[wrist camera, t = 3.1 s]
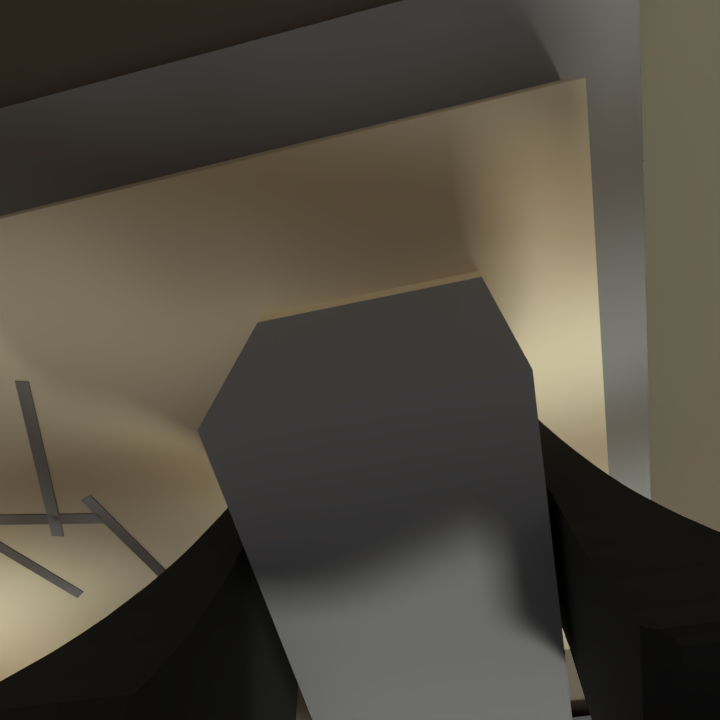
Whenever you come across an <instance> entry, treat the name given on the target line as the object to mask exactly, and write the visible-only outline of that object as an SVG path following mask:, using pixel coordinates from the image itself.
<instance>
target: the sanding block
mask: <svg viewBox="0 0 720 720" xmlns="http://www.w3.org/2000/svg"><path fill="white" fill-rule="evenodd" d="M197 431H198V433H199V436H200V438H201V441H202V443H203V446H204V449H205V451H206V454H207V456H208V459H209V461H210V464H211V466H212V469H213V471H214V474H215V476H216V479H217V481H218V484H219V486H220V489H221V491H222V494H223V496H224V499H225V501H226V504H227V506H228V509H229V511H230V514H231V516H232V519H233V521H234V524H235V526H236V529H237V531H238V534H239V537H240V539H241V542H242V544H243V547H244V549H245V552H246V554H247V557H248V559H249V562H250V564H251V567H252V569H253V572H254V574H255V577H256V579H257V582H258V584H259V587H260V589H261V592H262V594H263V597H264V599H265V602H266V604H267V607H268V609H269V612H270V614H271V617H272V619H273V622H274V625H275V627H276V630H277V632H278V635H279V637H280V640H281V642H282V645H283V647H284V650H285V652H286V655H287V657H288V660H289V662H290V665H291V667H292V670H293V672H294V675H295V677H296V680H297V682H298V685H299V687H300V690H301V692H302V695H303V697H304V700H305V702H306V705H307V707H308V710H309V712H310V715H311V718H312V720H572V711H571V703H570V694H569V685H568V676H567V667H566V659H565V650H564V641H563V632H562V623H561V615H560V606H559V597H558V588H557V579H556V571H555V562H554V553H553V544H552V536H551V527H550V518H549V509H548V500H547V492H546V483H545V474H544V465H543V456H542V448H541V439H540V430H539V421H538V412H537V404H536V395H535V386H534V377H533V369H532V368H531V366H530V364H529V362H528V360H527V358H526V357H525V355H524V353H523V351H522V349H521V347H520V346H519V344H518V342H517V340H516V338H515V336H514V335H513V333H512V331H511V329H510V327H509V326H508V324H507V322H506V320H505V318H504V316H503V315H502V313H501V311H500V309H499V307H498V305H497V304H496V302H495V300H494V298H493V296H492V294H491V293H490V291H489V289H488V287H487V285H486V284H485V282H484V280H483V278H482V276H481V274H480V273H479V271H476V272H471V273H466V274H461V275H456V276H452V277H447V278H442V279H437V280H432V281H427V282H422V283H417V284H413V285H408V286H403V287H398V288H393V289H388V290H383V291H378V292H374V293H369V294H364V295H359V296H354V297H349V298H344V299H339V300H335V301H330V302H325V303H320V304H315V305H310V306H305V307H300V308H296V309H291V310H286V311H281V312H276V313H271V314H266V315H261V317H260V319H259V320H258V322H257V324H256V326H255V328H254V329H253V331H252V333H251V335H250V337H249V338H248V340H247V342H246V344H245V346H244V347H243V349H242V351H241V353H240V355H239V356H238V358H237V360H236V362H235V364H234V365H233V367H232V369H231V371H230V373H229V374H228V376H227V378H226V380H225V382H224V383H223V385H222V387H221V389H220V391H219V392H218V394H217V396H216V398H215V400H214V401H213V403H212V405H211V407H210V409H209V410H208V412H207V414H206V416H205V418H204V419H203V421H202V423H201V425H200V427H199V428H198V430H197Z"/></svg>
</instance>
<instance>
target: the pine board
mask: <svg viewBox="0 0 720 720" xmlns="http://www.w3.org/2000/svg"><path fill="white" fill-rule="evenodd" d="M476 271H479V273H480V274H481V276H482V278H483V280H484V282H485V284H486V285H487V287H488V289H489V291H490V293H491V294H492V296H493V298H494V300H495V302H496V304H497V305H498V307H499V309H500V311H501V313H502V315H503V316H504V318H505V320H506V322H507V324H508V326H509V327H510V329H511V331H512V333H513V335H514V336H515V338H516V340H517V342H518V344H519V346H520V347H521V349H522V351H523V353H524V355H525V357H526V358H527V360H528V362H529V364H530V366H531V368H532V369H533V377H534V386H535V395H536V404H537V412H538V419H539V420H540V421H541V422H542V423H543V424H544V425H545V426H547V427H548V428H549V429H550V430H551V431H552V432H553V433H555V434H556V435H557V436H558V437H559V438H561V439H562V440H563V441H564V442H565V443H567V444H568V445H569V446H570V447H572V448H573V449H574V450H575V451H577V452H578V453H579V454H581V455H582V456H583V457H585V458H586V459H587V460H589V461H590V462H591V463H593V464H594V465H595V466H597V467H598V468H600V469H601V470H602V471H604V472H605V473H607V474H608V475H610V476H611V477H613V478H614V479H616V480H617V481H619V482H620V483H622V484H623V485H625V486H627V487H628V488H630V489H632V490H633V491H635V492H637V493H639V494H641V495H642V496H644V497H646V498H648V499H650V500H651V493H650V450H649V406H648V362H647V318H646V274H645V230H644V186H643V143H642V99H641V55H640V11H639V0H402V1H398V2H394V3H391V4H387V5H383V6H379V7H376V8H372V9H368V10H365V11H361V12H357V13H353V14H350V15H346V16H342V17H339V18H335V19H331V20H327V21H324V22H320V23H316V24H312V25H309V26H305V27H301V28H298V29H294V30H290V31H286V32H283V33H279V34H275V35H271V36H268V37H264V38H260V39H257V40H253V41H249V42H245V43H242V44H238V45H234V46H230V47H227V48H223V49H219V50H216V51H212V52H208V53H204V54H201V55H197V56H193V57H189V58H186V59H182V60H178V61H175V62H171V63H167V64H163V65H160V66H156V67H152V68H148V69H145V70H141V71H137V72H134V73H130V74H126V75H122V76H119V77H115V78H111V79H107V80H104V81H100V82H96V83H93V84H89V85H85V86H81V87H78V88H74V89H70V90H66V91H63V92H59V93H55V94H52V95H48V96H44V97H40V98H37V99H33V100H29V101H26V102H22V103H18V104H14V105H11V106H7V107H3V108H0V681H2V680H4V679H5V678H7V677H9V676H11V675H12V674H14V673H16V672H18V671H20V670H21V669H23V668H25V667H27V666H28V665H30V664H32V663H34V662H36V661H37V660H39V659H41V658H43V657H44V656H46V655H48V654H49V653H51V652H53V651H54V650H56V649H58V648H59V647H61V646H63V645H64V644H66V643H67V642H69V641H70V640H72V639H73V638H75V637H77V636H78V635H80V634H81V633H83V632H84V631H86V630H87V629H89V628H90V627H92V626H93V625H95V624H96V623H98V622H99V621H101V620H102V619H104V618H105V617H106V616H108V615H109V614H111V613H112V612H113V611H114V610H116V609H117V608H118V607H120V606H121V605H122V604H124V603H125V602H126V601H128V600H129V599H130V598H132V597H133V596H134V595H135V594H137V593H138V592H139V591H141V590H142V589H143V588H145V587H146V586H147V585H148V584H150V583H151V582H152V581H153V580H155V579H156V578H157V577H158V576H159V575H160V574H161V573H163V572H164V571H165V570H166V569H167V568H168V567H169V566H171V565H172V564H173V563H174V562H175V561H176V560H177V559H178V558H179V557H180V556H182V555H183V554H184V553H185V552H186V551H187V550H188V549H189V548H190V547H191V546H192V545H193V544H194V543H195V542H196V541H197V540H198V539H199V538H200V537H201V536H202V534H203V533H204V532H205V531H206V530H207V529H208V528H209V527H210V526H211V525H212V524H213V523H214V522H215V521H216V520H217V519H218V518H219V517H220V516H221V515H222V513H223V512H224V511H225V510H226V509H227V508H228V506H227V504H226V501H225V499H224V496H223V494H222V491H221V489H220V486H219V484H218V481H217V479H216V476H215V474H214V471H213V469H212V466H211V464H210V461H209V459H208V456H207V454H206V451H205V449H204V446H203V443H202V441H201V438H200V436H199V433H198V431H197V430H198V428H199V427H200V425H201V423H202V421H203V419H204V418H205V416H206V414H207V412H208V410H209V409H210V407H211V405H212V403H213V401H214V400H215V398H216V396H217V394H218V392H219V391H220V389H221V387H222V385H223V383H224V382H225V380H226V378H227V376H228V374H229V373H230V371H231V369H232V367H233V365H234V364H235V362H236V360H237V358H238V356H239V355H240V353H241V351H242V349H243V347H244V346H245V344H246V342H247V340H248V338H249V337H250V335H251V333H252V331H253V329H254V328H255V326H256V324H257V322H258V320H259V319H260V317H261V315H266V314H271V313H276V312H281V311H286V310H291V309H296V308H300V307H305V306H310V305H315V304H320V303H325V302H330V301H335V300H339V299H344V298H349V297H354V296H359V295H364V294H369V293H374V292H378V291H383V290H388V289H393V288H398V287H403V286H408V285H413V284H417V283H422V282H427V281H432V280H437V279H442V278H447V277H452V276H456V275H461V274H466V273H471V272H476ZM562 632H563V641H564V650H570V648H569V645H568V642H567V639H566V637H565V634H564V631H563V628H562Z"/></svg>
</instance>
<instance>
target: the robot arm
mask: <svg viewBox="0 0 720 720" xmlns="http://www.w3.org/2000/svg"><path fill="white" fill-rule="evenodd" d="M538 421H539V430H540V439H541V448H542V456H543V465H544V474H545V483H546V492H547V500H548V509H549V518H550V527H551V536H552V544H553V553H554V562H555V571H556V579H557V588H558V597H559V606H560V615H561V623H562V628H563V631H564V634H565V637H566V639H567V642H568V645H569V648H570V650H571V653H572V657H573V660H574V663H575V666H576V670H577V673H578V676H579V680H580V683H581V686H582V689H583V693H584V696H585V699H586V702H587V706H588V709H589V713H590V715H588V716H579V717H572V720H720V532H718V531H715V530H713V529H711V528H709V527H706V526H704V525H702V524H699V523H697V522H695V521H693V520H690V519H688V518H686V517H683V516H681V515H679V514H677V513H675V512H673V511H671V510H669V509H667V508H665V507H663V506H661V505H659V504H657V503H655V502H654V501H652V500H650V499H648V498H646V497H644V496H642V495H641V494H639V493H637V492H635V491H633V490H632V489H630V488H628V487H627V486H625V485H623V484H622V483H620V482H619V481H617V480H616V479H614V478H613V477H611V476H610V475H608V474H607V473H605V472H604V471H602V470H601V469H600V468H598V467H597V466H595V465H594V464H593V463H591V462H590V461H589V460H587V459H586V458H585V457H583V456H582V455H581V454H579V453H578V452H577V451H575V450H574V449H573V448H572V447H570V446H569V445H568V444H567V443H565V442H564V441H563V440H562V439H561V438H559V437H558V436H557V435H556V434H555V433H553V432H552V431H551V430H550V429H549V428H548V427H547V426H545V425H544V424H543V423H542V422H541V421H540V420H539V419H538ZM297 694H298V682H297V680H296V677H295V675H294V672H293V670H292V667H291V665H290V662H289V660H288V657H287V655H286V652H285V650H284V647H283V645H282V642H281V640H280V637H279V635H278V632H277V630H276V627H275V625H274V622H273V619H272V617H271V614H270V612H269V609H268V607H267V604H266V602H265V599H264V597H263V594H262V592H261V589H260V587H259V584H258V582H257V579H256V577H255V574H254V572H253V569H252V567H251V564H250V562H249V559H248V557H247V554H246V552H245V549H244V547H243V544H242V542H241V539H240V537H239V534H238V531H237V529H236V526H235V524H234V521H233V519H232V516H231V514H230V511H229V509H228V508H227V509H226V510H225V511H224V512H223V513H222V515H221V516H220V517H219V518H218V519H217V520H216V521H215V522H214V523H213V524H212V525H211V526H210V527H209V528H208V529H207V530H206V531H205V532H204V533H203V534H202V536H201V537H200V538H199V539H198V540H197V541H196V542H195V543H194V544H193V545H192V546H191V547H190V548H189V549H188V550H187V551H186V552H185V553H184V554H183V555H182V556H180V557H179V558H178V559H177V560H176V561H175V562H174V563H173V564H172V565H171V566H169V567H168V568H167V569H166V570H165V571H164V572H163V573H161V574H160V575H159V576H158V577H157V578H156V579H155V580H153V581H152V582H151V583H150V584H148V585H147V586H146V587H145V588H143V589H142V590H141V591H139V592H138V593H137V594H135V595H134V596H133V597H132V598H130V599H129V600H128V601H126V602H125V603H124V604H122V605H121V606H120V607H118V608H117V609H116V610H114V611H113V612H112V613H111V614H109V615H108V616H106V617H105V618H104V619H102V620H101V621H99V622H98V623H96V624H95V625H93V626H92V627H90V628H89V629H87V630H86V631H84V632H83V633H81V634H80V635H78V636H77V637H75V638H73V639H72V640H70V641H69V642H67V643H66V644H64V645H63V646H61V647H59V648H58V649H56V650H54V651H53V652H51V653H49V654H48V655H46V656H44V657H43V658H41V659H39V660H37V661H36V662H34V663H32V664H30V665H28V666H27V667H25V668H23V669H21V670H20V671H18V672H16V673H14V674H12V675H11V676H9V677H7V678H5V679H4V680H2V681H0V720H296V707H297Z"/></svg>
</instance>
